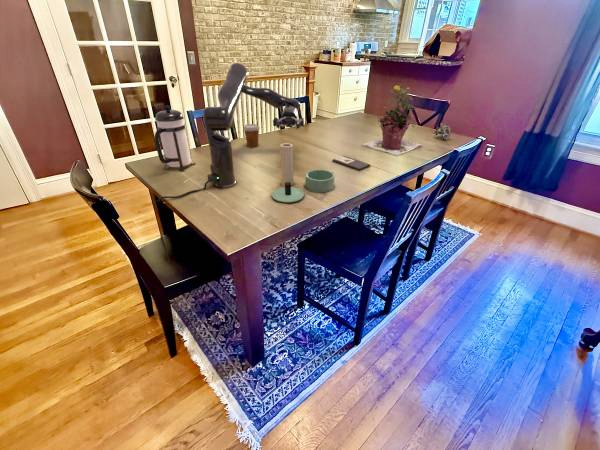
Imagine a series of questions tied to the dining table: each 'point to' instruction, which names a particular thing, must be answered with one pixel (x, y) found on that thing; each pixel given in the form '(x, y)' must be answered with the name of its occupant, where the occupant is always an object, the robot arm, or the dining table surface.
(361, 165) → the chocolate bar
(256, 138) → the disposable coffee cup
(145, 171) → the dining table surface
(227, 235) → the dining table surface
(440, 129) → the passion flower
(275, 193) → the lid
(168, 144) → the coffee press
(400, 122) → the potted flower
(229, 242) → the dining table surface
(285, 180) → the light brown hollow cylinder
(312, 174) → the pot
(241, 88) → the robot arm
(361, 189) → the dining table surface
